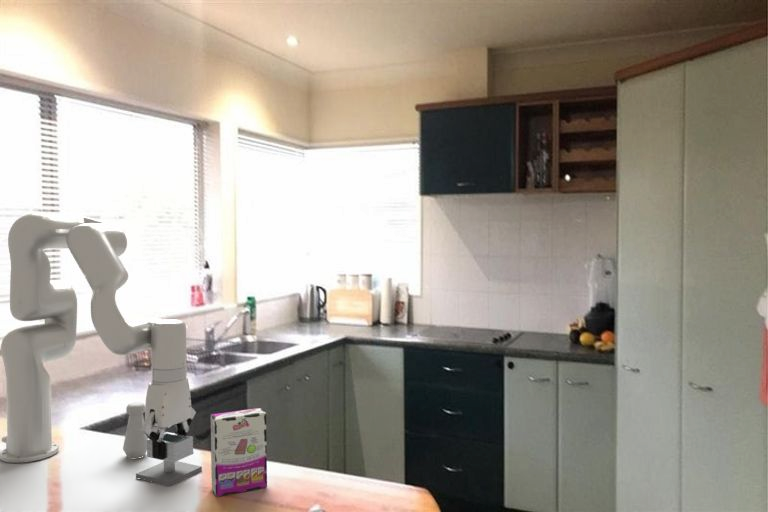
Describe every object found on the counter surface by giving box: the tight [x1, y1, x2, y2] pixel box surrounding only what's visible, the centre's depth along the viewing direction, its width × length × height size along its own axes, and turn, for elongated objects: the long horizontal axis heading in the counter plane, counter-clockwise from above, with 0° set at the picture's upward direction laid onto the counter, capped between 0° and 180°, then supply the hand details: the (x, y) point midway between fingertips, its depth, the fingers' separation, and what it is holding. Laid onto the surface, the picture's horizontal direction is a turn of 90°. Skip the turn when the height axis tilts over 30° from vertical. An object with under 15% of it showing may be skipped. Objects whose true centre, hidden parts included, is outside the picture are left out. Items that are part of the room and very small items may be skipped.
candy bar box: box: [210, 407, 268, 497], centre depth 134 cm, size 11×5×16 cm, turn 118°
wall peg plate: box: [135, 460, 203, 487], centre depth 141 cm, size 10×10×7 cm
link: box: [146, 431, 194, 462], centre depth 141 cm, size 8×6×4 cm
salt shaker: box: [122, 401, 148, 459], centre depth 153 cm, size 6×6×13 cm
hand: (169, 452), depth 141 cm, fingers closed on link, 6 cm apart
